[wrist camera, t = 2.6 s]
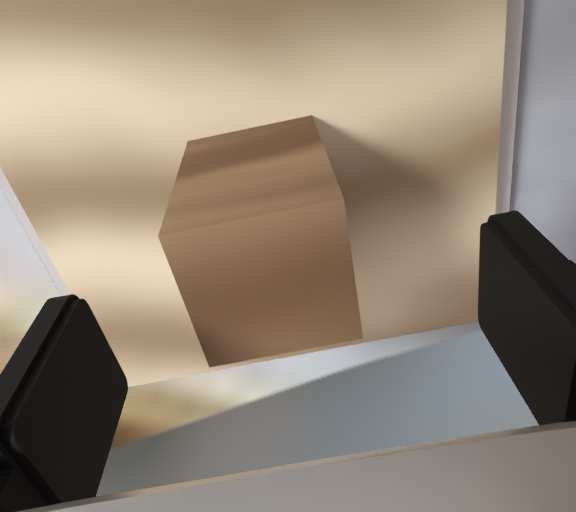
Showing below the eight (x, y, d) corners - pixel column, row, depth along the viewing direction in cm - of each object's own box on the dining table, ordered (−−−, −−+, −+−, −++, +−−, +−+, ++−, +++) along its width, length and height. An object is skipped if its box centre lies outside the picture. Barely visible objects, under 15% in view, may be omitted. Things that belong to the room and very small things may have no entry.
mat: (-133, -71, 13) (-148, -72, 13) (529, -226, 12) (541, -234, 12) (116, 380, 23) (113, 390, 22) (495, 308, 22) (501, 317, 22)
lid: (-89, -37, 13) (-365, -25, 7) (499, -172, 12) (726, -281, 7) (126, 371, 22) (81, 527, 16) (479, 304, 21) (569, 442, 15)
